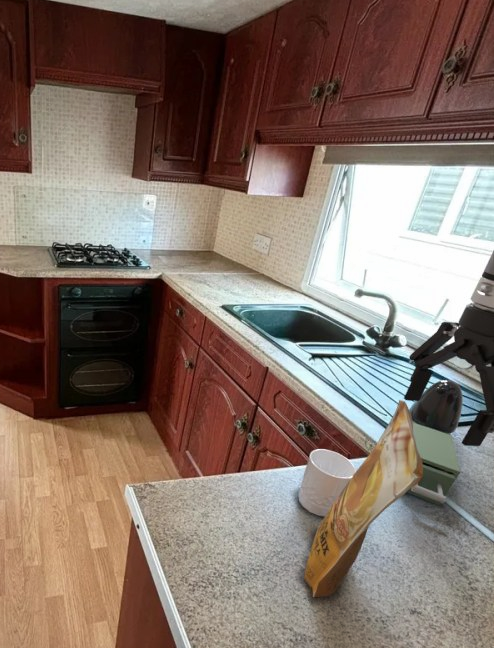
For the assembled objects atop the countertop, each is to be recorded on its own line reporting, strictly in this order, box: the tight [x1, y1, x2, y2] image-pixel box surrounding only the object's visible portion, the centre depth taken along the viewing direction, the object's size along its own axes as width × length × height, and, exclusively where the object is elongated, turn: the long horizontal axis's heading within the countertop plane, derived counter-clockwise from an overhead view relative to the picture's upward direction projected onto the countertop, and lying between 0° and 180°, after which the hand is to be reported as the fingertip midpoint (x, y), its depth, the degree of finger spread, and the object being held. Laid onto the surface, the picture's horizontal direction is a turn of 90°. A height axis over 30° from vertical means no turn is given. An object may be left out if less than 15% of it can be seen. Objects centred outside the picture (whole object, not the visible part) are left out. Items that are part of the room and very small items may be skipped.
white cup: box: [297, 448, 358, 517], centre depth 76 cm, size 8×8×10 cm
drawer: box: [406, 462, 456, 506], centre depth 83 cm, size 18×7×7 cm, turn 148°
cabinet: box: [413, 423, 461, 506], centre depth 86 cm, size 15×9×9 cm, turn 148°
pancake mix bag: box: [303, 399, 423, 598], centre depth 60 cm, size 7×19×28 cm, turn 145°
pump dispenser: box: [408, 379, 464, 435], centre depth 101 cm, size 10×10×15 cm
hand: (438, 420), depth 73 cm, fingers open, 13 cm apart
